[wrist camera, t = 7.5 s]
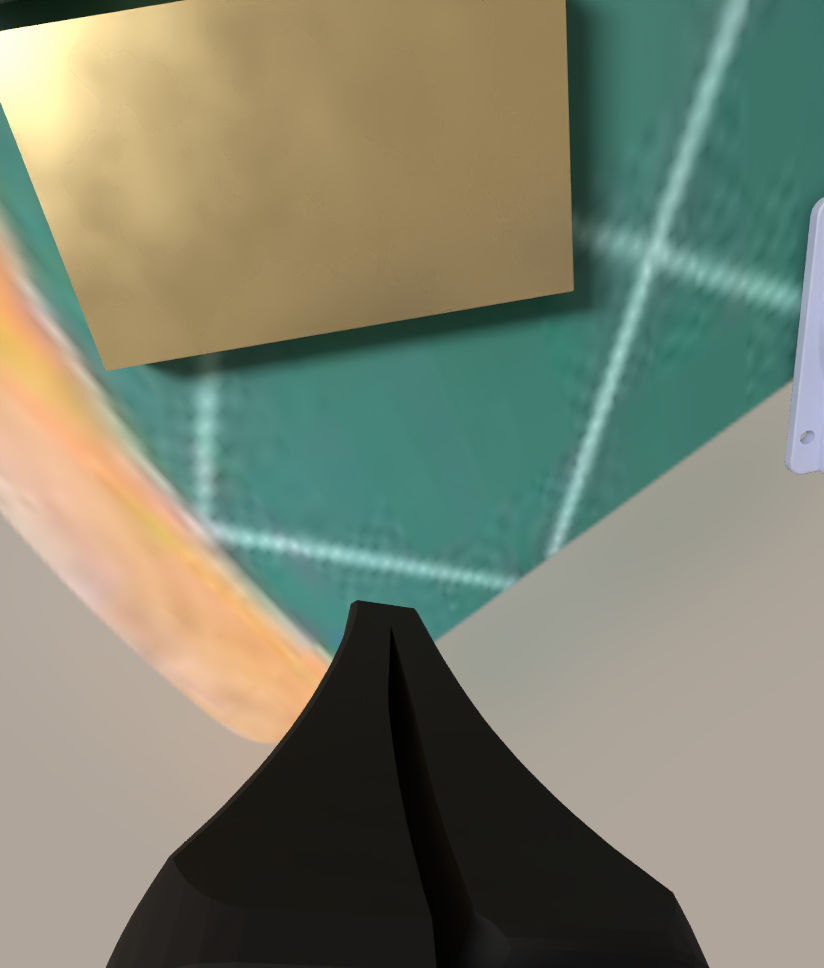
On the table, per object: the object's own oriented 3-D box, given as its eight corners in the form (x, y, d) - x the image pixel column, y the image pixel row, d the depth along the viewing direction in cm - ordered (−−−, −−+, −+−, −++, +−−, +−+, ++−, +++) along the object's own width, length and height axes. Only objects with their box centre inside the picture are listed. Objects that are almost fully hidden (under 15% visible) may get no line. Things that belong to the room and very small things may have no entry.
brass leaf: (553, 284, 18) (588, 294, 15) (131, 356, 18) (87, 380, 15) (530, -243, 13) (576, -377, 10) (-54, -147, 13) (-173, -254, 10)
